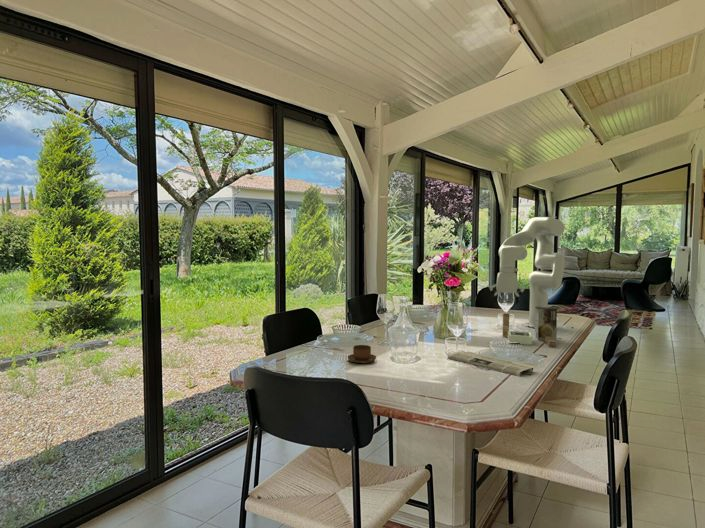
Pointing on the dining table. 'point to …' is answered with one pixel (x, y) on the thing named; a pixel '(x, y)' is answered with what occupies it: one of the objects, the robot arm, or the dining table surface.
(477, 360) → the newspaper
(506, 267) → the robot arm
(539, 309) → the coffee box
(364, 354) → the cup and saucer
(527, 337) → the pale green square tray
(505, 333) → the wooden square peg
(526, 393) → the dining table surface
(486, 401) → the dining table surface
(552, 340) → the wooden door wedge
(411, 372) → the dining table surface
